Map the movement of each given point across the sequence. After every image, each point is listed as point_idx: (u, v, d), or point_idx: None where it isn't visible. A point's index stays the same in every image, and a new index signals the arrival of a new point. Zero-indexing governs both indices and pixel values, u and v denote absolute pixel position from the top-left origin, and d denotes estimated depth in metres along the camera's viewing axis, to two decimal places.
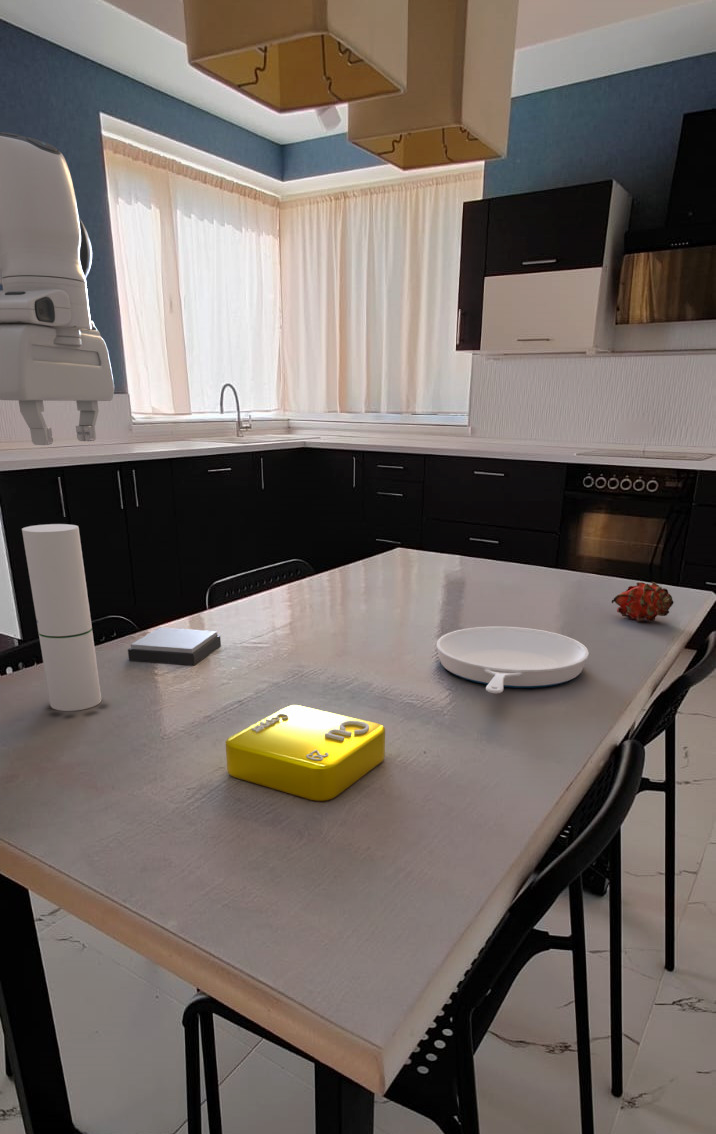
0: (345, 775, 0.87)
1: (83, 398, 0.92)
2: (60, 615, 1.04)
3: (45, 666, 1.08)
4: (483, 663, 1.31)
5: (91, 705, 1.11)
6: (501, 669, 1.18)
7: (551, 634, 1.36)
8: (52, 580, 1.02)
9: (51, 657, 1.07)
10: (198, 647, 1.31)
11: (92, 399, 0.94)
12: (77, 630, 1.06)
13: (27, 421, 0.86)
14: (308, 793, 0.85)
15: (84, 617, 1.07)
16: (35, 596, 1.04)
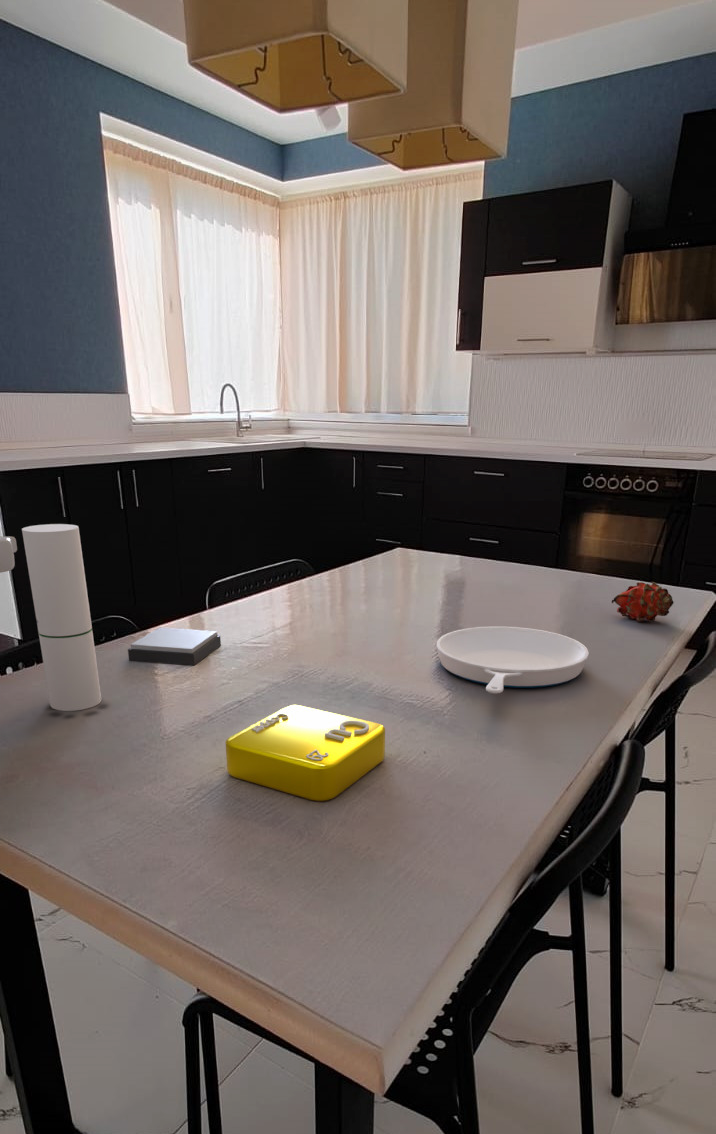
0: (345, 775, 0.87)
1: None
2: (60, 615, 1.04)
3: (45, 666, 1.08)
4: (483, 663, 1.31)
5: (91, 705, 1.11)
6: (501, 669, 1.18)
7: (551, 634, 1.36)
8: (52, 580, 1.02)
9: (51, 657, 1.07)
10: (198, 647, 1.31)
11: None
12: (77, 630, 1.06)
13: None
14: (308, 793, 0.85)
15: (84, 617, 1.07)
16: (35, 596, 1.04)
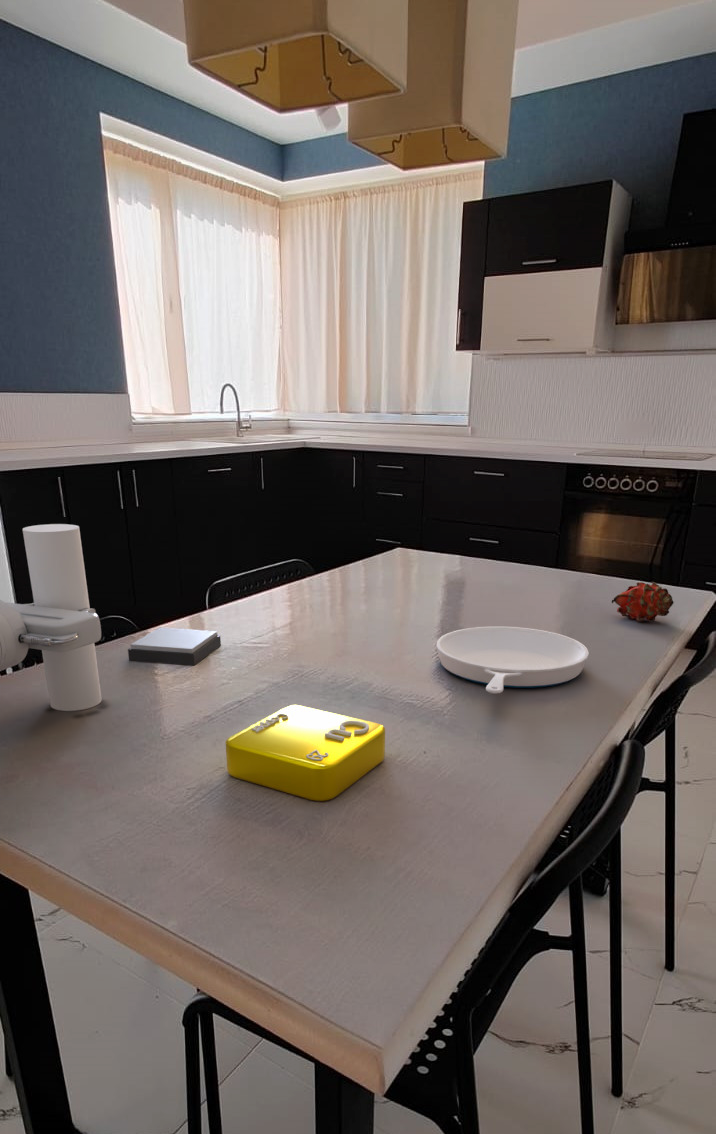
0: (345, 775, 0.87)
1: None
2: None
3: (45, 666, 1.08)
4: (483, 663, 1.31)
5: (91, 705, 1.11)
6: (501, 669, 1.18)
7: (551, 634, 1.36)
8: (53, 580, 1.02)
9: (51, 656, 1.07)
10: (198, 647, 1.31)
11: None
12: None
13: None
14: (308, 793, 0.85)
15: None
16: (36, 596, 1.04)
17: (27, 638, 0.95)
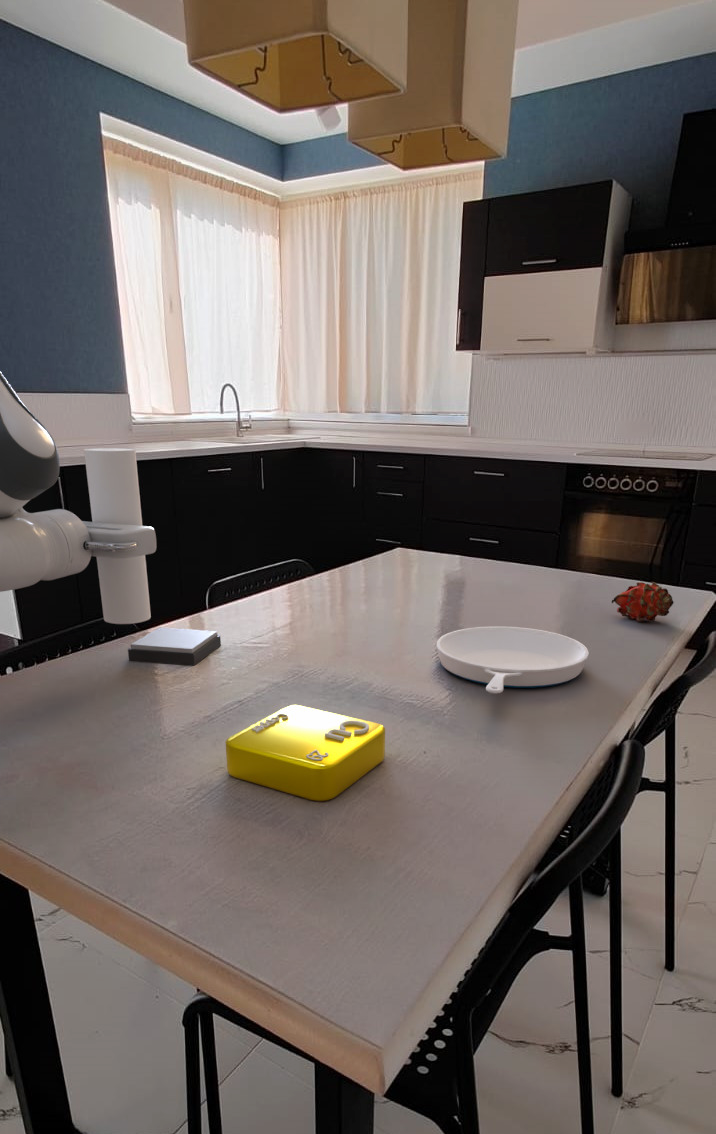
0: (345, 775, 0.87)
1: None
2: None
3: (101, 581, 1.17)
4: (483, 663, 1.31)
5: (142, 620, 1.19)
6: (501, 669, 1.18)
7: (551, 634, 1.36)
8: (111, 497, 1.11)
9: (107, 571, 1.15)
10: (198, 647, 1.31)
11: None
12: None
13: None
14: (308, 793, 0.85)
15: None
16: (95, 513, 1.12)
17: (92, 544, 1.03)
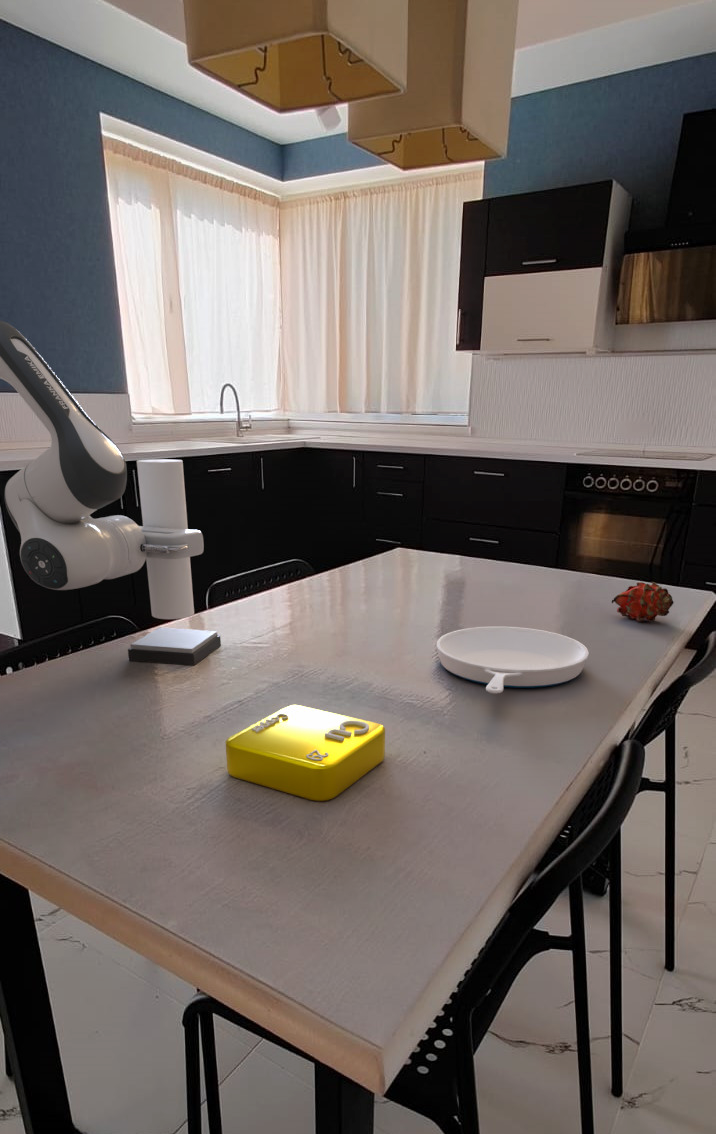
0: (345, 775, 0.87)
1: None
2: None
3: (150, 580, 1.28)
4: (483, 663, 1.31)
5: (187, 615, 1.31)
6: (501, 669, 1.18)
7: (551, 634, 1.36)
8: (162, 504, 1.22)
9: (157, 571, 1.27)
10: (198, 647, 1.31)
11: None
12: None
13: None
14: (308, 793, 0.85)
15: None
16: (146, 518, 1.24)
17: (148, 546, 1.14)
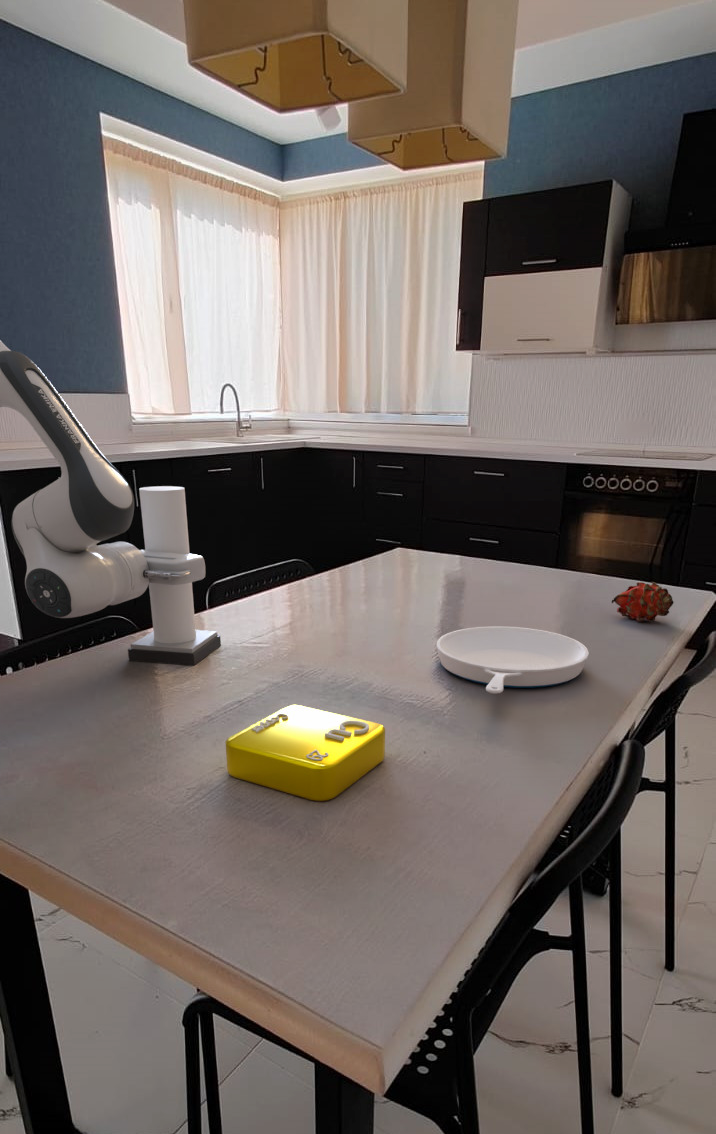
0: (345, 775, 0.87)
1: None
2: None
3: (153, 605, 1.30)
4: (483, 663, 1.31)
5: (189, 639, 1.33)
6: (501, 669, 1.18)
7: (551, 634, 1.36)
8: (164, 531, 1.24)
9: (159, 597, 1.28)
10: (198, 647, 1.31)
11: None
12: None
13: None
14: (308, 793, 0.85)
15: None
16: (149, 545, 1.25)
17: (150, 573, 1.16)
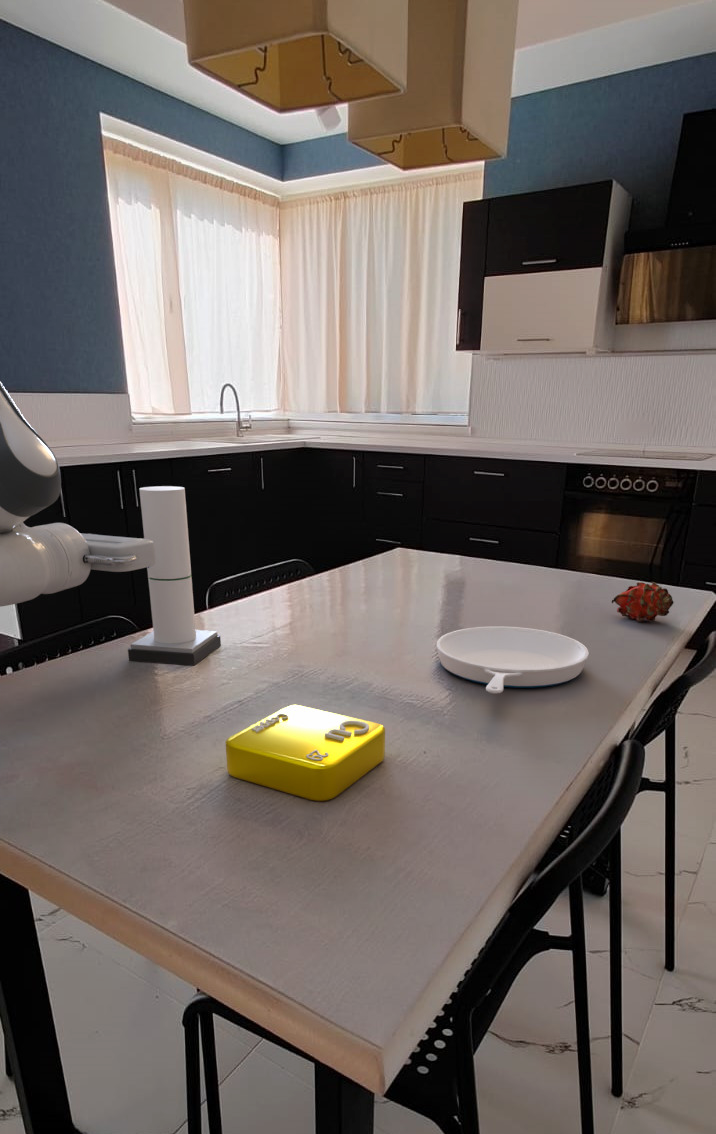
0: (345, 775, 0.87)
1: None
2: (168, 561, 1.26)
3: (153, 605, 1.30)
4: (483, 663, 1.31)
5: (189, 639, 1.33)
6: (501, 669, 1.18)
7: (551, 634, 1.36)
8: (164, 531, 1.24)
9: (159, 597, 1.28)
10: (198, 647, 1.31)
11: None
12: (181, 574, 1.28)
13: None
14: (308, 793, 0.85)
15: (187, 564, 1.28)
16: None
17: (91, 558, 1.03)
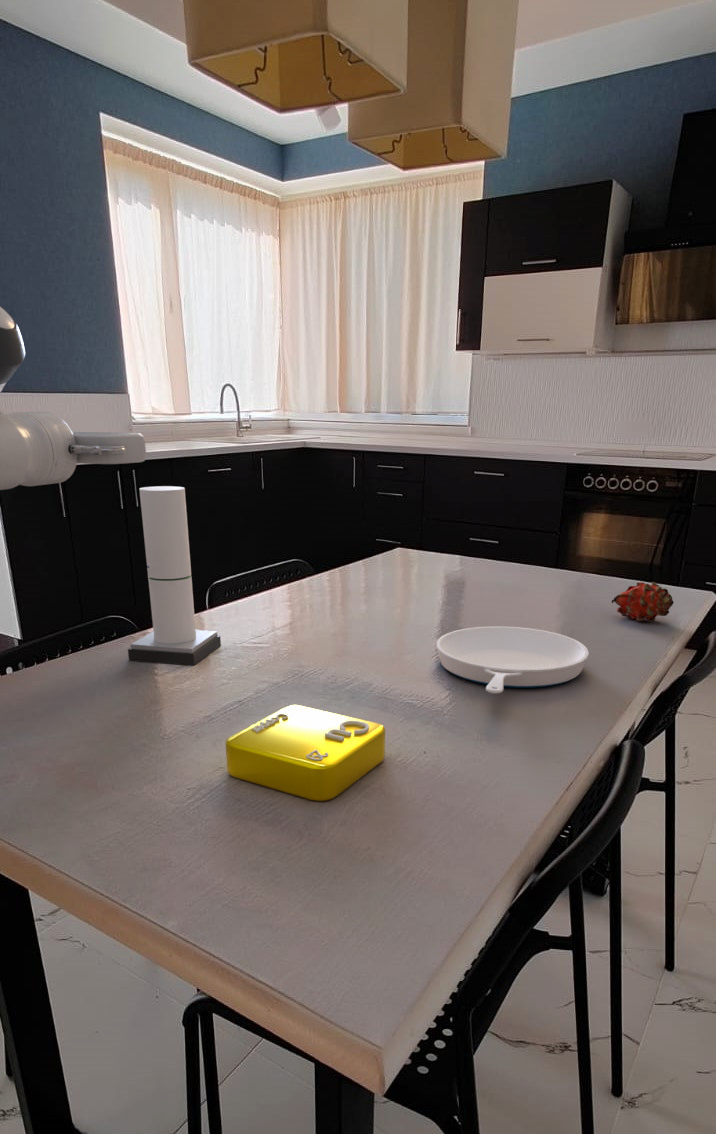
0: (345, 775, 0.87)
1: None
2: (168, 561, 1.26)
3: (153, 605, 1.30)
4: (483, 663, 1.31)
5: (189, 639, 1.33)
6: (501, 669, 1.18)
7: (551, 634, 1.36)
8: (164, 531, 1.24)
9: (159, 597, 1.28)
10: (198, 647, 1.31)
11: None
12: (181, 574, 1.28)
13: None
14: (308, 793, 0.85)
15: (187, 564, 1.28)
16: (149, 545, 1.25)
17: (77, 447, 0.98)
